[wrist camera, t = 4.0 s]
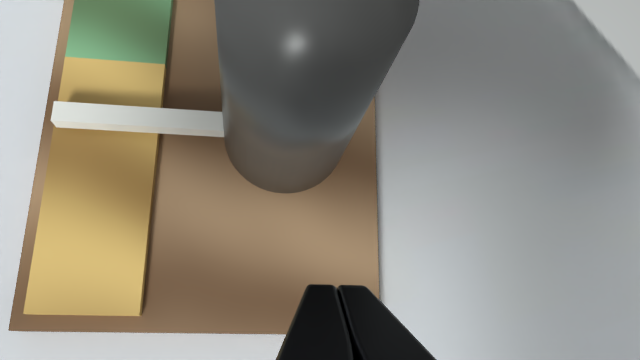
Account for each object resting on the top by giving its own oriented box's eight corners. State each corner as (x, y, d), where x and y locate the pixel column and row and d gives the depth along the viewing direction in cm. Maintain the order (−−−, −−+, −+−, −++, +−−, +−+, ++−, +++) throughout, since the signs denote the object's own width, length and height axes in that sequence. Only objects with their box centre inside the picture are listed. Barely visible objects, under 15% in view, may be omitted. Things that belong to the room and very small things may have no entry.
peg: (344, 196, 20) (424, 82, 11) (52, 182, 18) (-111, 41, 10) (343, -10, 22) (407, -231, 14) (86, -35, 21) (-19, -297, 12)
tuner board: (373, 335, 20) (382, 334, 18) (20, 331, 18) (3, 330, 17) (366, 1, 24) (374, -19, 22) (78, -26, 22) (68, -49, 21)
